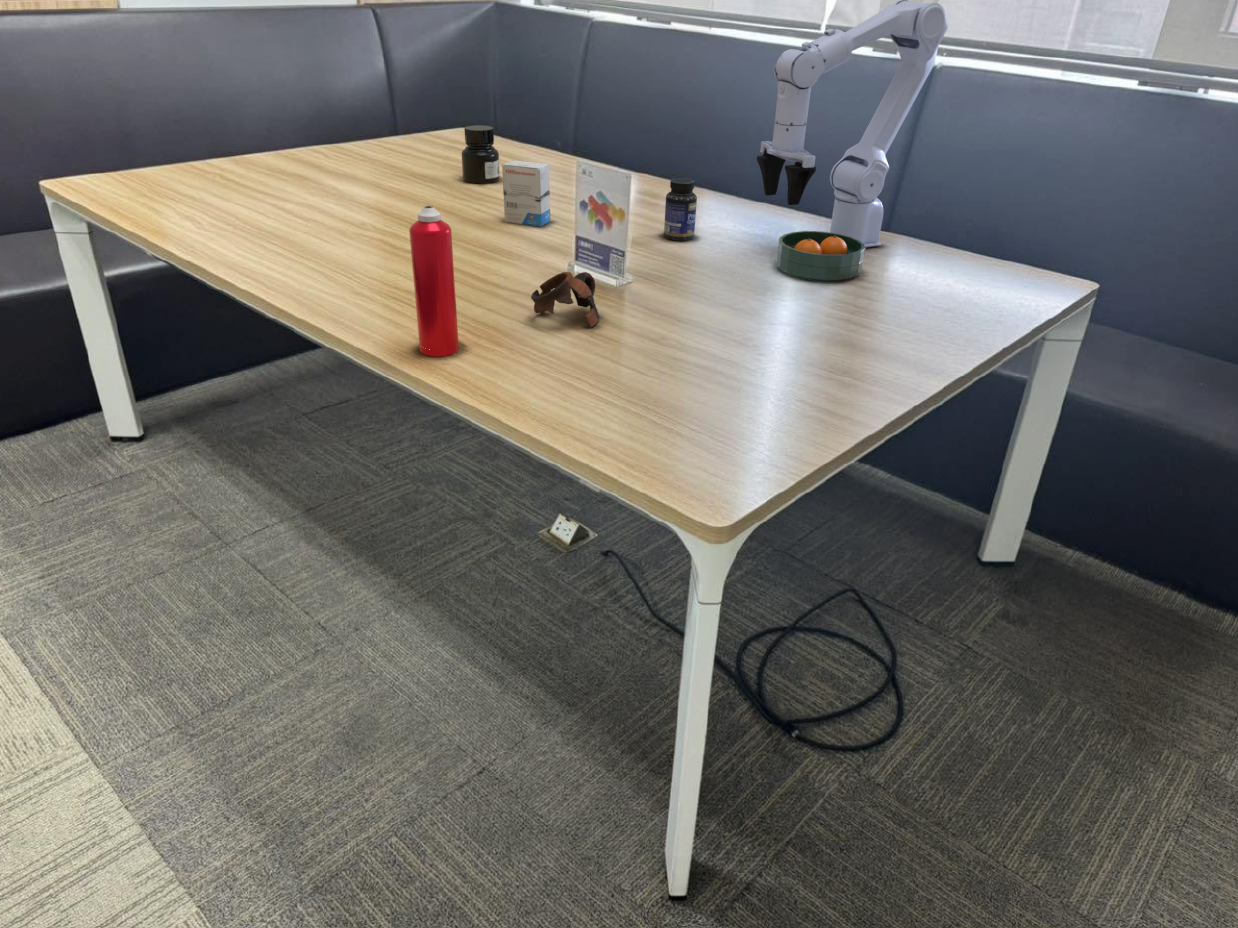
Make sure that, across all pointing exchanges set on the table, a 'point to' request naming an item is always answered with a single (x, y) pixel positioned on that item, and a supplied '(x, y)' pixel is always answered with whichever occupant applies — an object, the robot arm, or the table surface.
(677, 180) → the pill bottle
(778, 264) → the bowl
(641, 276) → the table surface
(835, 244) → the clementine
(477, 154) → the ink bottle
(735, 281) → the table surface
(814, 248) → the clementine
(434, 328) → the bottle
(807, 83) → the robot arm
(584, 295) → the brown curved broken pieces
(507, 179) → the ink box
